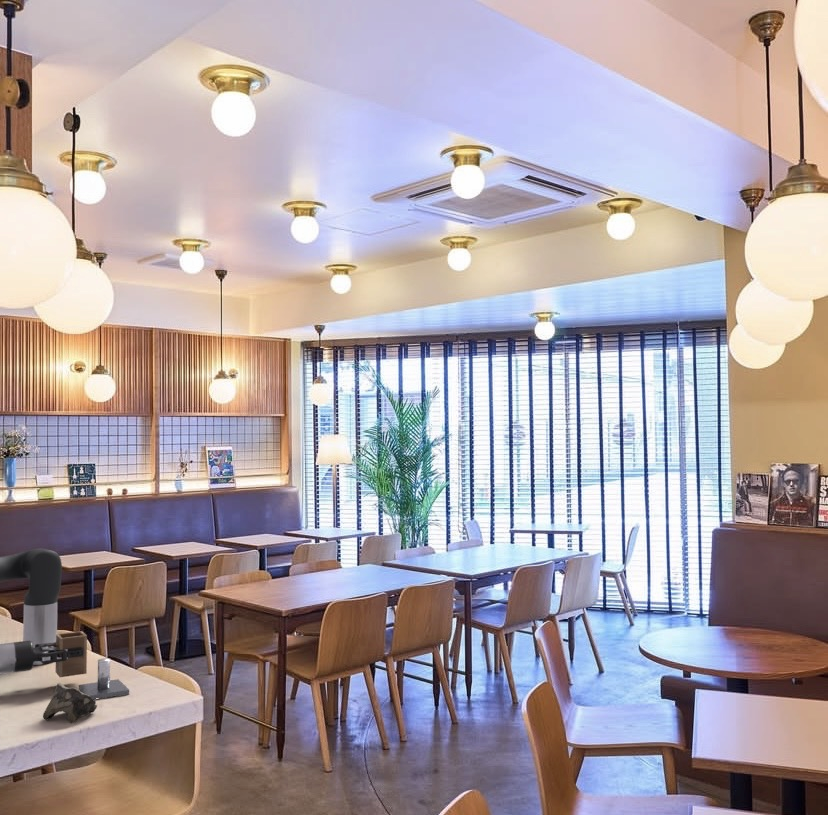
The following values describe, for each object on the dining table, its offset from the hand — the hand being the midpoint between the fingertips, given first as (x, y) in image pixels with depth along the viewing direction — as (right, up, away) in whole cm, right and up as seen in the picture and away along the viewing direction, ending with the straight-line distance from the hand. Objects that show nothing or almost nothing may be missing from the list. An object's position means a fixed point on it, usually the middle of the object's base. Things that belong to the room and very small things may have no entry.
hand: (80, 648), depth 220 cm
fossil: (+10, -8, -29) cm, 31 cm away
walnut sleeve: (-2, -6, -2) cm, 6 cm away
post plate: (+9, -9, -8) cm, 15 cm away
